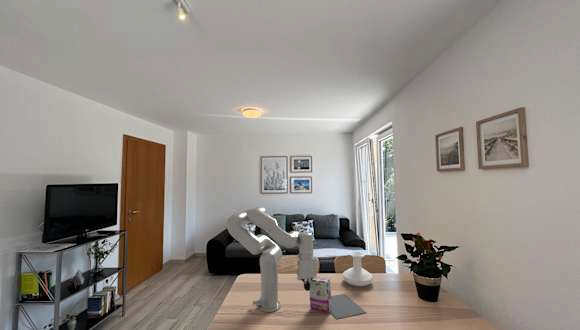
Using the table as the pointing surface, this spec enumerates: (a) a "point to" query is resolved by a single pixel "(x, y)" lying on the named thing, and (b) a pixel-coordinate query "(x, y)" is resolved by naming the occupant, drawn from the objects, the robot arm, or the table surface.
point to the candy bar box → (320, 294)
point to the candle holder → (357, 272)
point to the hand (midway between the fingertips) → (306, 289)
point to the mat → (344, 307)
